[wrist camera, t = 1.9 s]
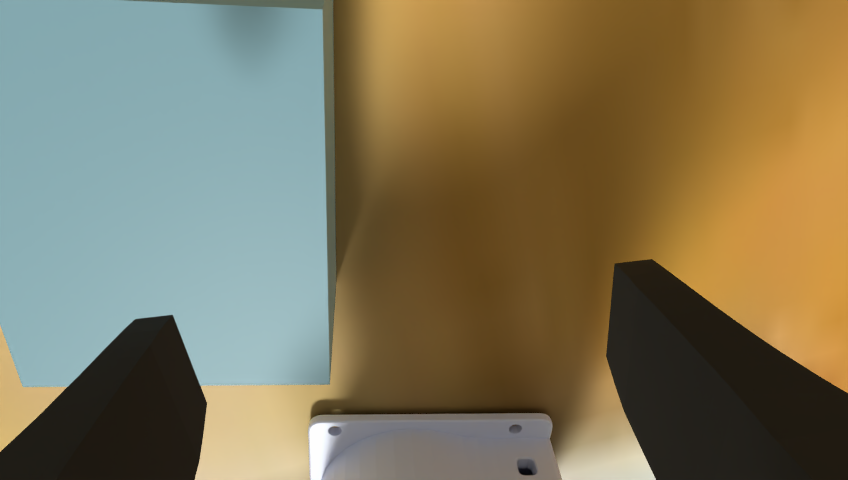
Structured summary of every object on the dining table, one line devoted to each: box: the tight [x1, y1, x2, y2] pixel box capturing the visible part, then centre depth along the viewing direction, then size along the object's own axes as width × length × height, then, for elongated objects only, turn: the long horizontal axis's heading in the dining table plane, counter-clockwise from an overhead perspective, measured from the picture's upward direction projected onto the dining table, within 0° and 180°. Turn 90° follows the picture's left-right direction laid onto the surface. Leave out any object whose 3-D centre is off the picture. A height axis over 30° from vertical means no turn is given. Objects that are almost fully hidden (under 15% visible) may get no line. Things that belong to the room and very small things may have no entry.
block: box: [0, 0, 336, 387], centre depth 17 cm, size 8×10×5 cm
